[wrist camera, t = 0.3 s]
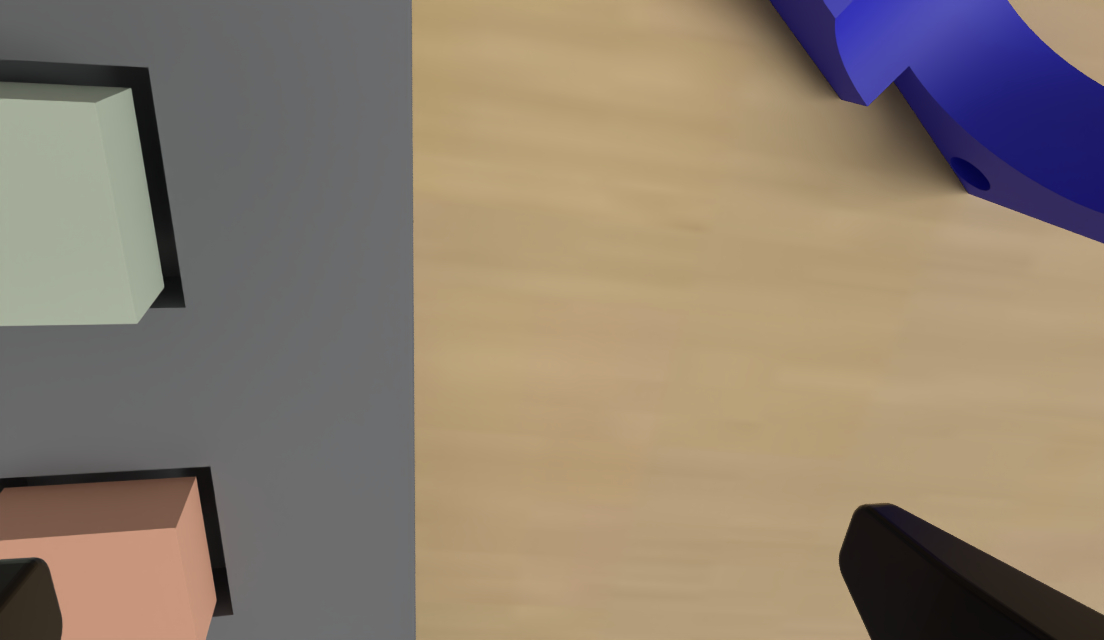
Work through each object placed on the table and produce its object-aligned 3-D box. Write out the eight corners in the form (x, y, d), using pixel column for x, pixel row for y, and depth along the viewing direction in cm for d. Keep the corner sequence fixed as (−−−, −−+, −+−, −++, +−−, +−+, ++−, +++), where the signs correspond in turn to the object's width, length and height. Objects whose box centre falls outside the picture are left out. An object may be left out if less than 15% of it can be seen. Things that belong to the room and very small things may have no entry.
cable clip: (720, -63, 19) (851, -81, 13) (850, -206, 18) (1045, -284, 12) (929, 224, 24) (1083, 294, 19) (1038, 125, 23) (1231, 167, 18)
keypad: (414, 771, 30) (417, 847, 28) (-14, 836, 27) (-58, 930, 24) (407, -80, 17) (410, -90, 14) (-452, -168, 13) (-660, -204, 11)
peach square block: (216, 600, 21) (200, 658, 19) (44, 616, 20) (10, 678, 18) (196, 476, 19) (175, 527, 17) (4, 488, 18) (-39, 543, 16)
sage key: (164, 287, 17) (137, 323, 15) (-58, 288, 16) (-115, 327, 14) (131, 87, 15) (95, 102, 13) (-125, 75, 14) (-200, 89, 12)
